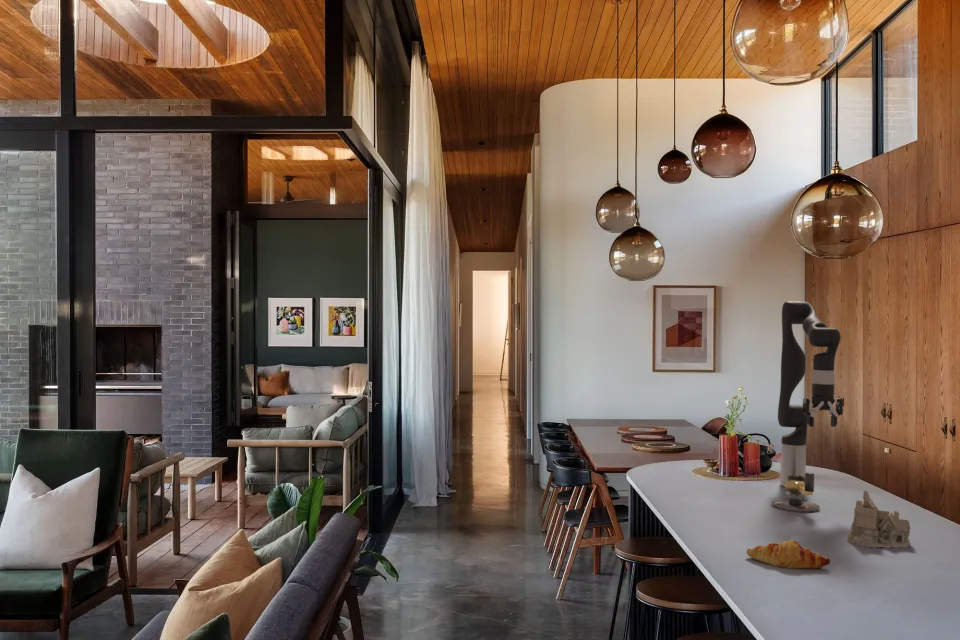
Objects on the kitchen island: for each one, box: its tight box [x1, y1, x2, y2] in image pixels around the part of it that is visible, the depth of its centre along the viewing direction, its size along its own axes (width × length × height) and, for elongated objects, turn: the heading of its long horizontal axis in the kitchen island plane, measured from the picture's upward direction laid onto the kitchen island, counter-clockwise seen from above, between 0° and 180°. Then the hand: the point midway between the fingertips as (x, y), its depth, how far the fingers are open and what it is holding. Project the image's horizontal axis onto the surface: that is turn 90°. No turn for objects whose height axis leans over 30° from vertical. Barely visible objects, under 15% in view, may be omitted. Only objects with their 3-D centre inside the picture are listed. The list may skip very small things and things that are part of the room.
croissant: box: [746, 539, 831, 570], centre depth 207 cm, size 21×10×8 cm, turn 65°
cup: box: [788, 475, 805, 499], centre depth 288 cm, size 8×7×8 cm
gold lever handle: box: [784, 472, 815, 496], centre depth 269 cm, size 15×7×8 cm, turn 3°
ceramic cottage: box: [847, 490, 911, 548], centre depth 229 cm, size 16×16×15 cm
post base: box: [771, 490, 821, 513], centre depth 273 cm, size 16×16×6 cm
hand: (822, 426), depth 277 cm, fingers open, 8 cm apart
